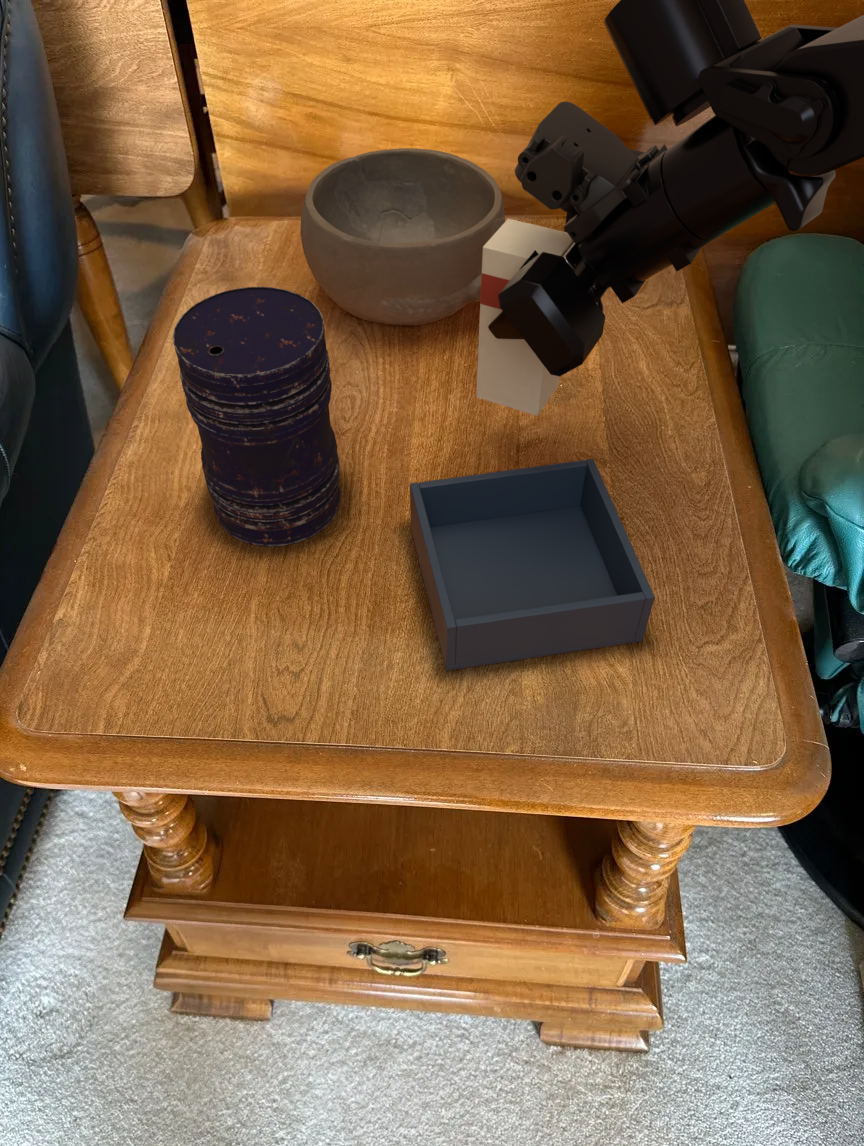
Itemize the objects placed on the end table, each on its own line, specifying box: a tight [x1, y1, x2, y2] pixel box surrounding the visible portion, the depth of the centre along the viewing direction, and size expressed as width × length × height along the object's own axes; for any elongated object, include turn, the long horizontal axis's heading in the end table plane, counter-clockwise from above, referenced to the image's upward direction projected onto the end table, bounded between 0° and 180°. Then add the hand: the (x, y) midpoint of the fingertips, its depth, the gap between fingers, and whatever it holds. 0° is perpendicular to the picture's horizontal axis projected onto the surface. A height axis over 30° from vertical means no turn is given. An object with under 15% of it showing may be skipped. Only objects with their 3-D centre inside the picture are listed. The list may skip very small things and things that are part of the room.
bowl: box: [299, 147, 506, 326], centre depth 85 cm, size 17×18×10 cm
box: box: [409, 458, 656, 672], centre depth 65 cm, size 13×13×4 cm
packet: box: [475, 218, 574, 417], centre depth 67 cm, size 5×4×12 cm
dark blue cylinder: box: [172, 286, 342, 547], centre depth 67 cm, size 10×10×15 cm
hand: (505, 315), depth 67 cm, fingers closed on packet, 4 cm apart
